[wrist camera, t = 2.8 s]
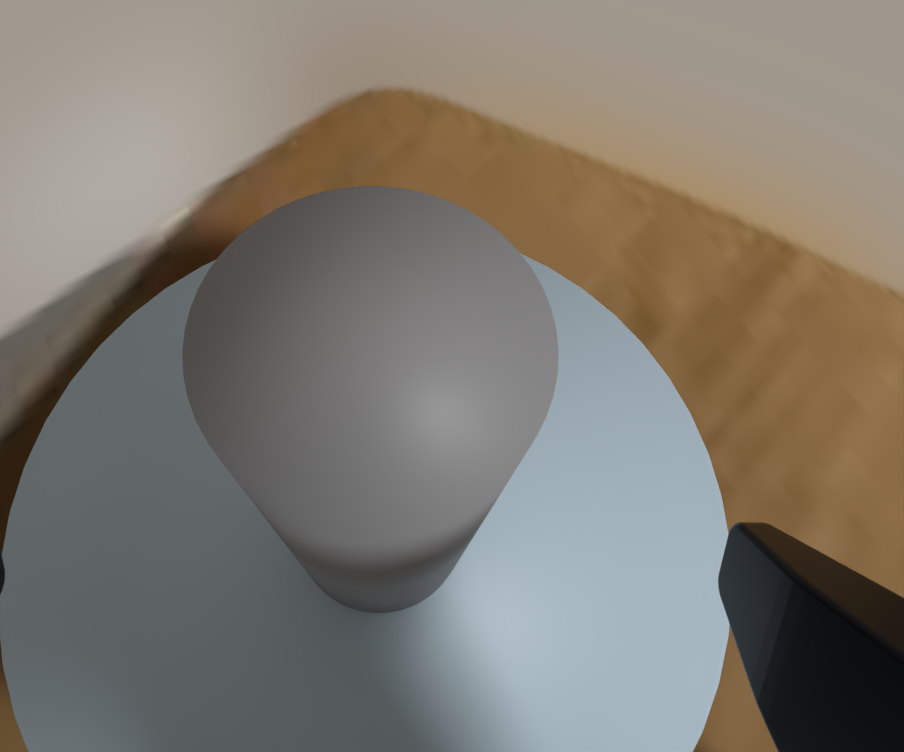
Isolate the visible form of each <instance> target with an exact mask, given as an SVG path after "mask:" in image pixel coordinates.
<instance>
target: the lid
mask: <svg viewBox="0 0 904 752" xmlns="http://www.w3.org/2000/svg"><path fill="white" fill-rule="evenodd" d="M727 538H728V530H727V524H726V519H725V513H724V508H723V502H722V497H721V493H720V490H719V486H718V483H717V480H716V477H715V474H714V470H713V467H712V464H711V461H710V457H709V454H708V452H707V449H706V447H705V445H704V443H703V440H702V438H701V436H700V434H699V432H698V429H697V427H696V425H695V423H694V420H693V418H692V416H691V414H690V412H689V410H688V409H687V407H686V405H685V404H684V402H683V400H682V399H681V397H680V395H679V394H678V392H677V390H676V389H675V387H674V385H673V384H672V382H671V380H670V379H669V377H668V376H667V374H666V373H665V372H664V371H663V369H662V368H661V367H660V365H659V364H658V363H657V361H656V360H655V359H654V358H653V356H652V355H651V354H650V352H649V351H648V350H647V348H646V347H645V346H644V345H643V343H642V342H641V341H640V340H639V339H638V338H637V337H636V336H635V335H634V334H633V333H632V332H631V331H630V330H629V329H628V328H627V327H626V326H625V325H624V324H623V323H622V322H621V321H620V320H619V319H618V318H617V317H616V316H615V315H614V314H613V313H612V312H610V311H609V310H608V309H607V308H605V307H604V306H603V305H602V304H601V303H599V302H598V301H597V300H596V299H594V298H593V297H592V296H591V295H590V294H588V293H587V292H586V291H585V290H583V289H582V288H580V287H579V286H577V285H576V284H574V283H572V282H571V281H569V280H568V279H566V278H565V277H563V276H561V275H560V274H558V273H557V272H555V271H554V270H552V269H551V268H549V267H547V266H545V265H543V264H541V263H538V262H536V261H534V260H532V259H530V258H528V257H526V256H524V255H522V254H521V253H520V252H519V251H518V250H517V249H516V248H515V247H514V246H513V245H512V244H511V243H510V242H509V241H508V240H507V239H506V237H504V236H503V235H502V234H501V233H500V232H498V231H497V230H496V229H495V228H493V227H492V226H491V225H490V224H489V223H487V222H486V221H484V220H482V219H481V218H479V217H478V216H476V215H475V214H473V213H471V212H470V211H468V210H466V209H464V208H462V207H460V206H458V205H456V204H453V203H451V202H449V201H446V200H444V199H441V198H438V197H435V196H432V195H429V194H425V193H421V192H417V191H413V190H408V189H401V188H393V187H381V186H360V187H349V188H340V189H335V190H330V191H325V192H320V193H317V194H313V195H310V196H307V197H304V198H301V199H298V200H296V201H293V202H291V203H289V204H287V205H284V206H282V207H280V208H278V209H276V210H274V211H273V212H271V213H269V214H268V215H266V216H264V217H263V218H261V219H259V220H258V221H256V222H255V223H254V224H252V225H251V226H250V227H249V228H247V229H246V230H245V231H243V232H242V233H241V234H240V235H239V236H238V237H237V238H236V239H235V240H234V241H233V242H232V243H231V244H230V245H229V246H228V247H227V248H225V249H224V251H223V252H222V253H221V254H220V256H219V257H218V258H217V260H214V261H212V262H210V263H208V264H206V265H204V266H202V267H200V268H198V269H197V270H195V271H193V272H192V273H190V274H189V275H187V276H185V277H184V278H182V279H180V280H179V281H177V282H175V283H174V284H172V285H170V286H169V287H167V288H165V289H164V290H163V291H162V292H160V293H159V294H158V295H156V296H155V297H154V298H153V299H151V300H150V301H149V302H147V303H146V304H145V305H143V306H142V307H141V308H140V309H138V310H137V311H136V312H134V313H133V314H132V315H131V316H130V317H129V318H128V319H127V320H126V321H125V322H123V323H122V324H121V325H120V326H119V327H118V328H117V329H116V330H115V331H114V332H113V333H112V334H111V335H110V336H109V337H108V338H107V339H106V340H105V341H104V342H103V343H102V344H101V345H100V346H99V347H98V348H97V350H96V351H95V352H94V353H93V354H92V356H91V357H90V358H89V359H88V361H87V362H86V363H85V364H84V366H83V367H82V368H81V369H80V370H79V372H78V373H77V374H76V375H75V377H74V378H73V379H72V380H71V382H70V383H69V385H68V386H67V388H66V390H65V391H64V393H63V394H62V396H61V397H60V399H59V401H58V402H57V404H56V405H55V407H54V409H53V410H52V412H51V413H50V415H49V417H48V418H47V420H46V421H45V423H44V425H43V428H42V430H41V432H40V434H39V436H38V438H37V440H36V443H35V445H34V447H33V449H32V451H31V453H30V455H29V457H28V460H27V462H26V464H25V466H24V469H23V473H22V476H21V479H20V482H19V485H18V488H17V491H16V494H15V497H14V500H13V503H12V507H11V510H10V513H9V519H8V524H7V530H6V535H5V540H4V546H3V551H2V559H3V563H4V567H5V582H4V586H3V590H2V592H1V595H0V641H1V653H2V664H3V669H4V673H5V677H6V682H7V686H8V690H9V695H10V699H11V703H12V707H13V712H14V716H15V719H16V721H17V724H18V727H19V729H20V732H21V734H22V737H23V739H24V742H25V744H26V747H27V749H28V752H693V750H694V748H695V746H696V744H697V742H698V740H699V738H700V736H701V734H702V732H703V729H704V726H705V723H706V720H707V717H708V714H709V711H710V708H711V705H712V703H713V700H714V697H715V694H716V691H717V688H718V685H719V681H720V676H721V671H722V666H723V661H724V656H725V651H726V646H727V641H728V636H729V621H728V618H727V615H726V612H725V609H724V606H723V603H722V600H721V597H720V594H719V588H718V575H719V570H720V566H721V562H722V558H723V554H724V550H725V546H726V542H727Z"/></svg>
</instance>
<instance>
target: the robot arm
mask: <svg viewBox="0 0 904 752" xmlns="http://www.w3.org/2000/svg"><path fill="white" fill-rule="evenodd" d="M4 582H5V567H4V563H3V559H2V554H1V550H0V595H1V592H2V590H3V586H4ZM718 588H719V594H720V597H721V600H722V603H723V606H724V609H725V612H726V615H727V618H728V621H729V624H730V627H731V630H732V633H733V636H734V639H735V642H736V645H737V648H738V651H739V654H740V657H741V660H742V663H743V666H744V668H745V671H746V674H747V677H748V680H749V683H750V686H751V689H752V692H753V694H754V697H755V700H756V702H757V705H758V707H759V710H760V712H761V714H762V717H763V719H764V721H765V723H766V726H767V728H768V730H769V732H770V734H771V736H772V739H773V741H774V743H775V745H776V747H777V750H778V752H904V598H903V597H901V596H899V595H898V594H896V593H894V592H892V591H890V590H888V589H887V588H885V587H883V586H881V585H879V584H878V583H876V582H874V581H872V580H870V579H868V578H867V577H865V576H863V575H861V574H859V573H857V572H856V571H854V570H852V569H850V568H848V567H846V566H845V565H843V564H841V563H839V562H837V561H836V560H834V559H832V558H830V557H828V556H826V555H825V554H823V553H821V552H819V551H817V550H815V549H814V548H812V547H810V546H808V545H806V544H804V543H803V542H801V541H799V540H797V539H795V538H794V537H792V536H790V535H788V534H786V533H784V532H783V531H781V530H779V529H777V528H775V527H773V526H772V525H770V524H767V523H743V522H741V523H736V524H735V525H733V526H732V528H731V529H730V531H729V534H728V538H727V542H726V546H725V550H724V554H723V558H722V562H721V566H720V570H719V575H718Z"/></svg>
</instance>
